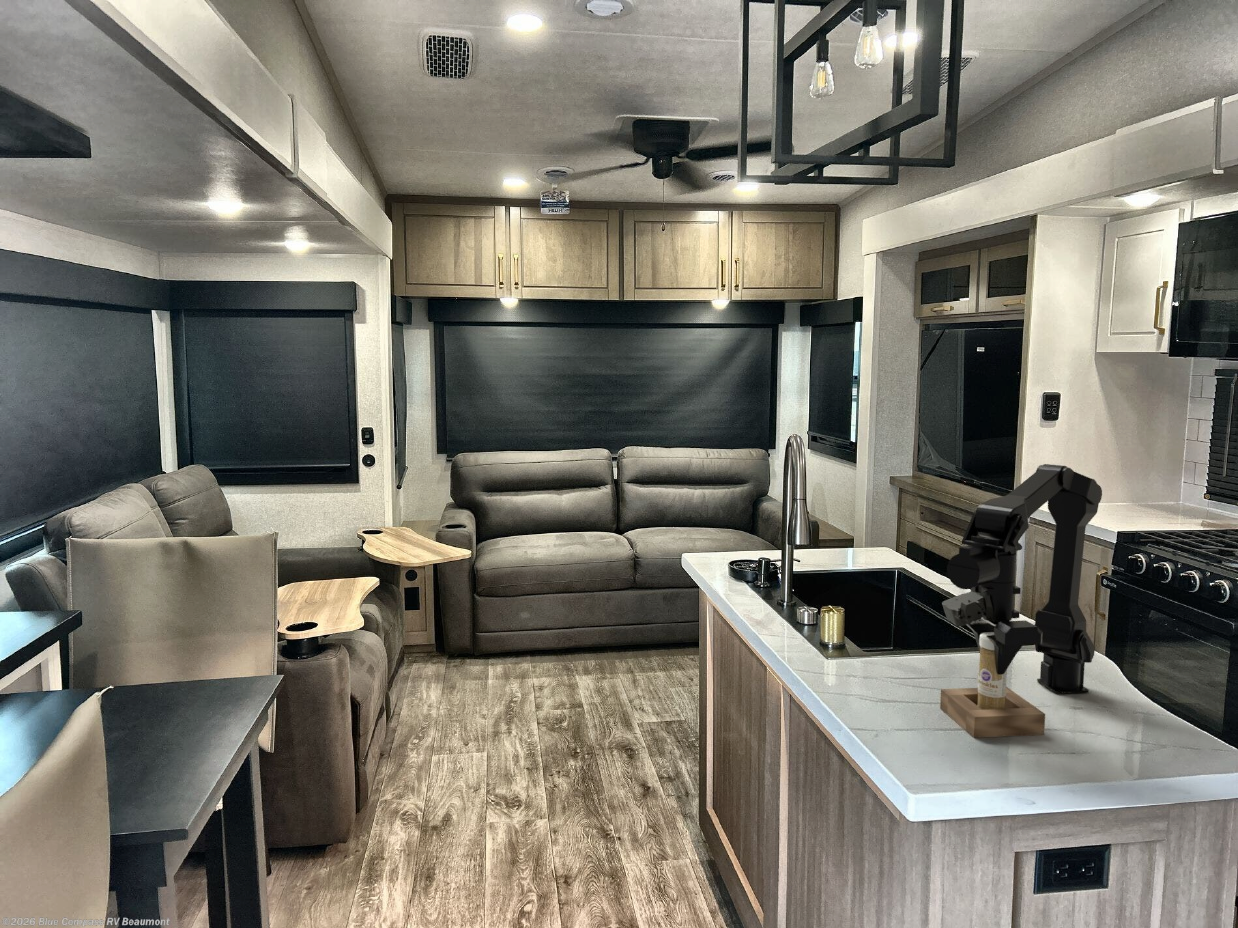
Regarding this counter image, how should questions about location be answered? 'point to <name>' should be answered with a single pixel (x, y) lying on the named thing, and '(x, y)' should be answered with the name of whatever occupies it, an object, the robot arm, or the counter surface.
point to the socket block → (992, 714)
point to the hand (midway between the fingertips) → (992, 668)
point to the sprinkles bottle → (990, 677)
